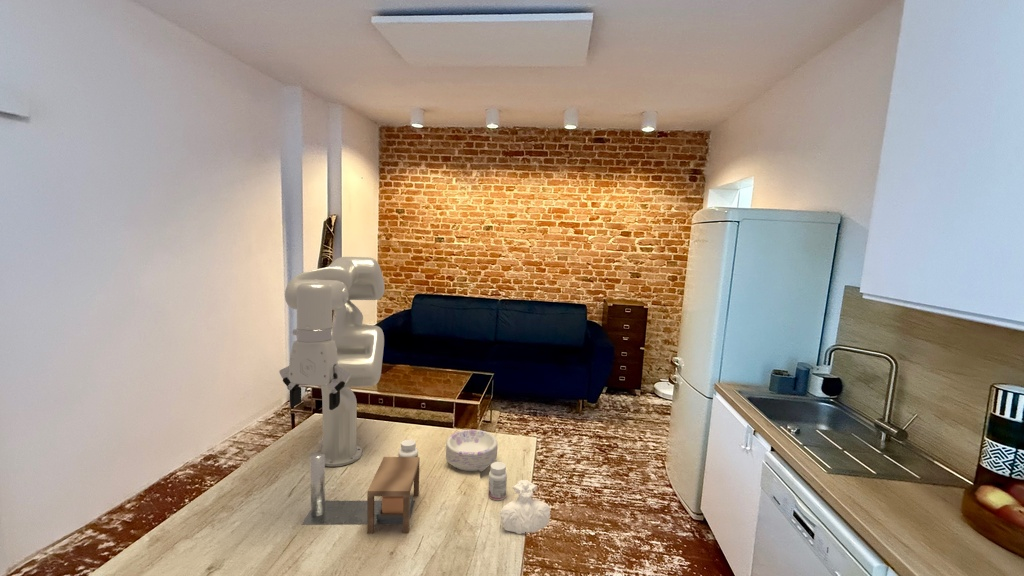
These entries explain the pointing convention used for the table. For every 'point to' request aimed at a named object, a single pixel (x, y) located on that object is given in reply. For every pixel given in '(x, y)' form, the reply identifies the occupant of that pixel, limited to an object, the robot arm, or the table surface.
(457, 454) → the paper bowls
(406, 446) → the supplement bottle
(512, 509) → the white lumpy bag
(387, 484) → the wooden table
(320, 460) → the metal rod stand
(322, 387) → the robot arm
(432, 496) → the table surface
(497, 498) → the pill bottle
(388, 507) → the block
